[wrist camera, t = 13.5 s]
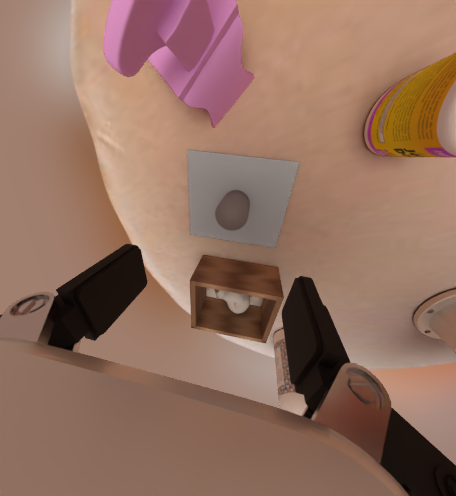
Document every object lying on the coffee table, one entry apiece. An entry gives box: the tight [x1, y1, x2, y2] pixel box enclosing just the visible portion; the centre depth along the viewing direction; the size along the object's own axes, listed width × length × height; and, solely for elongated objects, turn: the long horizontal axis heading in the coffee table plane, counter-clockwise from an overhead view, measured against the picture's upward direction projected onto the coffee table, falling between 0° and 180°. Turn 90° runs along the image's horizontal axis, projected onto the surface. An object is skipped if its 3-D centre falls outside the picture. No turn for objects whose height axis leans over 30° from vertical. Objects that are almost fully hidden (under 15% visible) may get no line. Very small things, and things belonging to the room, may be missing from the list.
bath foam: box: [274, 329, 307, 416], centre depth 29 cm, size 7×7×20 cm
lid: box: [187, 150, 300, 248], centre depth 22 cm, size 14×12×6 cm
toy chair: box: [104, 0, 254, 128], centre depth 11 cm, size 8×9×15 cm
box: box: [190, 255, 284, 343], centre depth 29 cm, size 14×12×7 cm
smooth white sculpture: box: [215, 289, 250, 314], centre depth 31 cm, size 4×8×5 cm
